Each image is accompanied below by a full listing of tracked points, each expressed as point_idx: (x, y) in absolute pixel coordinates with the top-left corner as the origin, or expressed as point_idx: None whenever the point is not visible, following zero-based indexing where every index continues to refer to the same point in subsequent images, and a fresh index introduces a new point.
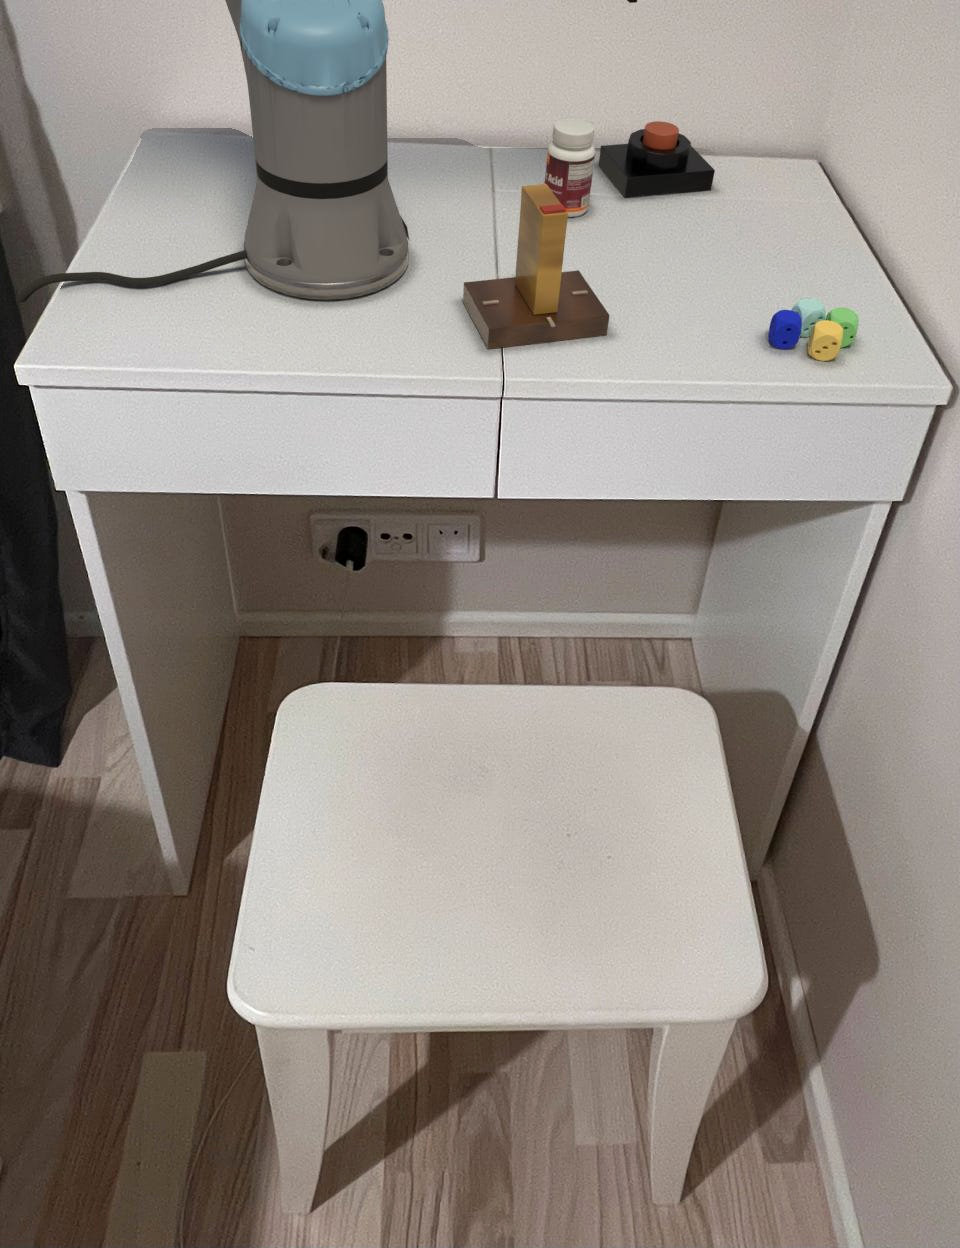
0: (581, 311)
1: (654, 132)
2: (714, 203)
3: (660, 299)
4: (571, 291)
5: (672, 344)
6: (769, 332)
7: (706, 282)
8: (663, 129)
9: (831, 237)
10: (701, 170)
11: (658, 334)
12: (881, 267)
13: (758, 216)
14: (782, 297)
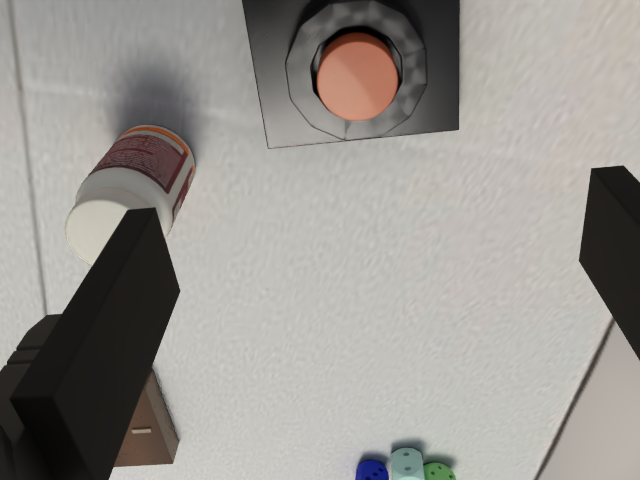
0: (140, 457)
1: (331, 105)
2: (436, 164)
3: (257, 393)
4: (132, 425)
5: (249, 459)
6: (359, 468)
7: (329, 368)
8: (358, 89)
9: (576, 283)
10: (429, 130)
11: (238, 445)
12: (594, 358)
13: (493, 214)
14: (415, 402)
